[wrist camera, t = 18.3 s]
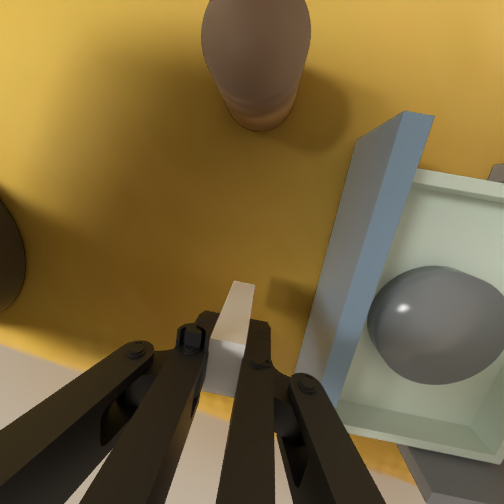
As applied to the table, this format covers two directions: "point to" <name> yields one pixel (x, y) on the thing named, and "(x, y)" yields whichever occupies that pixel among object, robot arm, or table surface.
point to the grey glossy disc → (437, 324)
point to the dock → (456, 462)
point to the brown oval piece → (256, 56)
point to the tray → (388, 267)
